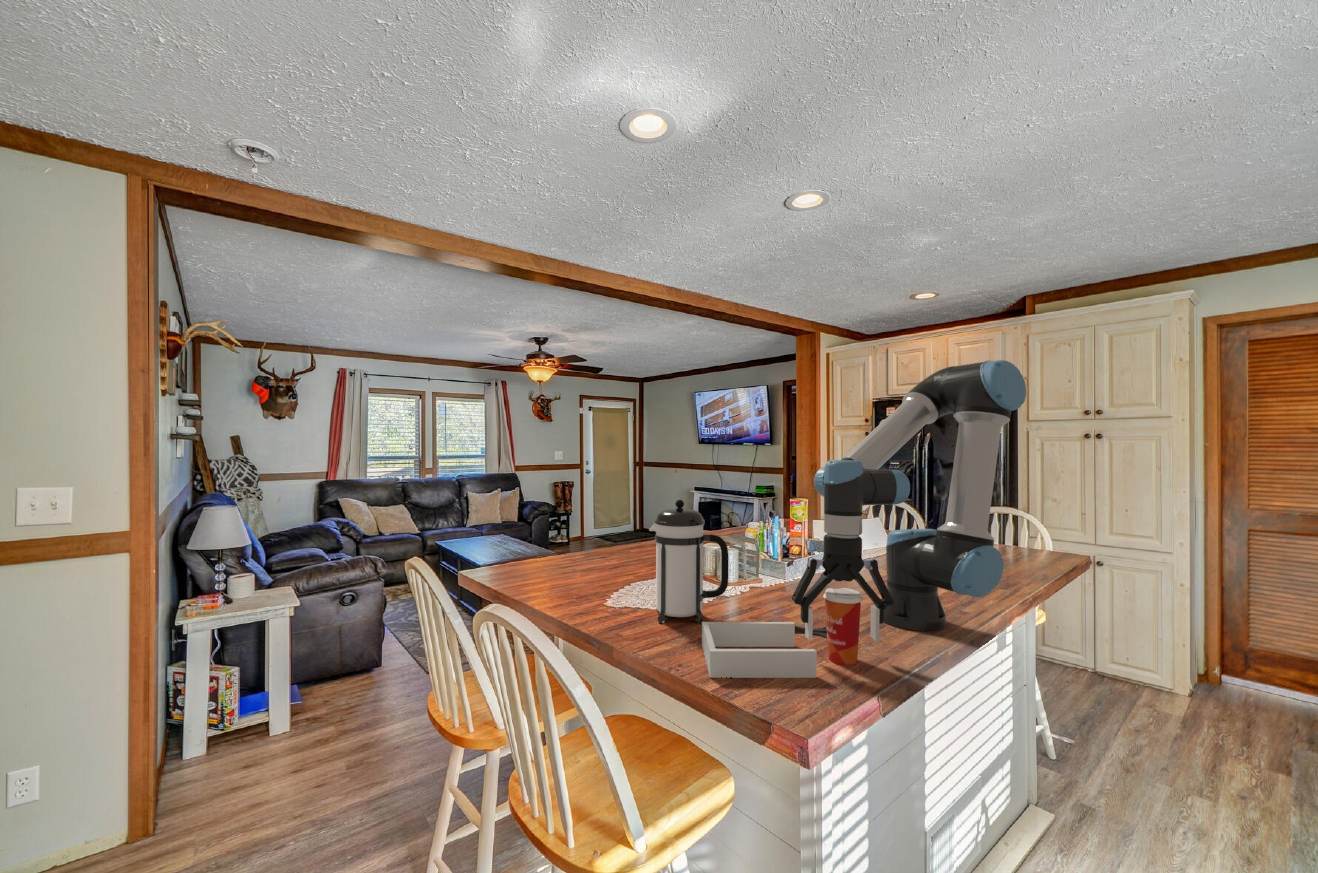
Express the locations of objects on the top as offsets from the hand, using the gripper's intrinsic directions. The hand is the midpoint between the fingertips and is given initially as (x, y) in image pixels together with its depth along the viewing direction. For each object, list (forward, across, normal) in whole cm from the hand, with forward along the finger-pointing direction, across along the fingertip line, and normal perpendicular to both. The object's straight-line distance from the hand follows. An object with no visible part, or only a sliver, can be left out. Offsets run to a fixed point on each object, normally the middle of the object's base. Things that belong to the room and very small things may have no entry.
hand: (841, 639), depth 114 cm
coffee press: (+5, +31, -29) cm, 43 cm away
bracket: (+5, +2, -17) cm, 18 cm away
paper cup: (+5, 0, 0) cm, 5 cm away
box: (+5, +18, 0) cm, 18 cm away
